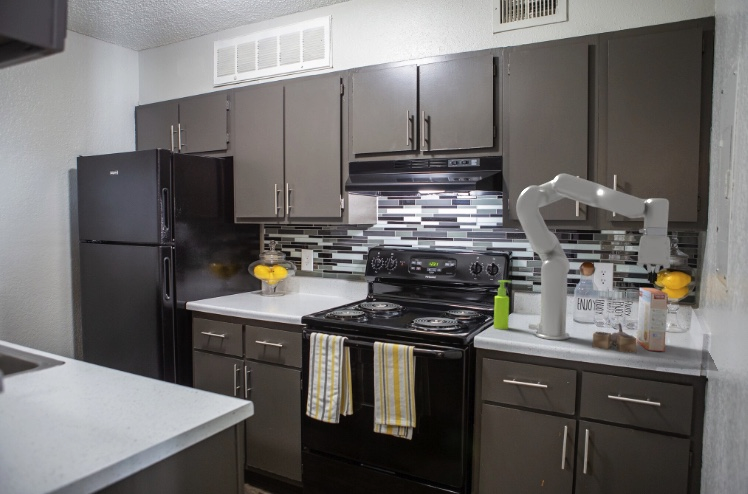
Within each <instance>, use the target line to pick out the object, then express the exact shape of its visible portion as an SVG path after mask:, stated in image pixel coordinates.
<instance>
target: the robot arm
mask: <svg viewBox="0 0 748 494" xmlns="http://www.w3.org/2000/svg"><path fill="white" fill-rule="evenodd" d="M565 198H567V199H570V200H573V201H575V202H578V203H581V204H584V205H587V206H590V207H593V208H599V209H603V210H606V211H610V212H613V213H615V214H619V215H621V216H623V217H627V218H629V219H638V218H643V228H640V229H639V230H638V232H639V233H640V234H643V235H641V236H640V239H639V245H638V251H637V252H638V254H637V262H636V266H637V267H640V268H644V269H645V270H646V272H647V282H649V284H651V285H652V284H653V285H655V284H656V282H657V283H658V274H659V273H660V272H661V270H664V269H670V268H671V264H670V262H671V239H670V237H669V236H668V223H669V207H670V201H669V200H668V199H667V198H661V197H659V198H654V197H653V198H652V197H651V198H640V197H637V196H635V195H631V194H628V193H625V192H621V191H618V190H616V189H613V188H609V187H607V186H605V185H603V184H599V183H597V182H594V181H590V180H587V179H584V178H581V177H578V176H575V175H572V174H568V173H559V174H557V175H556V176H555V177H554V178H553V179H552V180H550V181H547V182H545V183H543V184H540V185H529V186H528V187H526V188H525V189H523V191H522V192H521V193H520V194H519V196H518V198H517V200H516V207H515V208H516V209H515V210H516V215H517V218H518V221H519V223H520V225H521V227H522V229H523V232H524V234H525V237H526V238H527V241H528V243H529V246H530V248H531V249H532V251H533V252H534V253H536V254H537V255H538V257H539V258H540V260H541V262H542V264H541V268H540V280H541V281H540V283H541V285H540V286H541V287H540V288H541V289H540V290H541V291H540V318H539V319H540V320H539V323H537V324H533V323H529V324H528V329H529V330H533V331H534V330H535V331H536V332H535V336H537V337H538V338H542V339H546V340H552V341H553V340H555V341H556V340H559V341H563V340H564V341H565V340H568V339H570V333H568V332H567V331H566V330H567V328H566V327H567V326H566V325H567V301H568V297H567V296H568V293H567V292H568V273H569V272H570V269H571V264H570V261H569V259H568V257H567V255H566V253H565V251H564V249H563V246H562V245H561V243H560V240H559V239H558V236H556V235H555V233H554V232H552V231H550V230H549V229H548V226H547V224H546V222H545V220H544V218H543V216H542V214H541V212H540V208H542V207H545V206H548V205H550V204H552V203H555V202H558V201H560V200H562V199H565ZM652 265H655V268H654V269H653V270H652Z"/></svg>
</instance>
